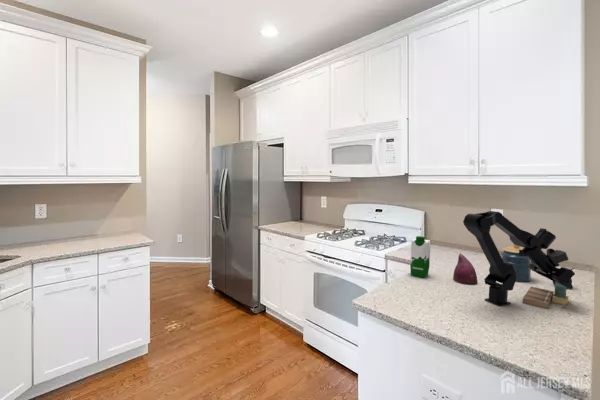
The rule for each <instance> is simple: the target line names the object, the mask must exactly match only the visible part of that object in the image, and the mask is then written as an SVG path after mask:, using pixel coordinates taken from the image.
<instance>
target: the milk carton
mask: <svg viewBox="0 0 600 400" xmlns="http://www.w3.org/2000/svg"><path fill="white" fill-rule="evenodd" d="M425 238H426V237H425V236H420V235H418V236H416V237H415V238H413V239H412V240H411V242H410V243H411V245H410V246H411V247H410V263H409V264H410V266H409V267H410V276H411V277H417V278H422V279H426V278H427V276H428V275H429V270H430V264H431V263H430V262H431V240H430V239H425Z"/></svg>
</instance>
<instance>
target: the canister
mask: <svg viewBox="0 0 600 400" xmlns="http://www.w3.org/2000/svg"><path fill="white" fill-rule="evenodd" d="M523 248H524V247H520V246H516V245H514V244H513V246H508V245H507V246H506V247H503V248H502V250H503V251H502V252H500V255H501V257H502V259H503V261H504V262H505V263H508V264H511V265H512V266H513V268H514V270H515V272H516V273H515V274H516V282H520V283H526V282H530V281H531V273H532V272H531V271H532V270H531V269H530V268H529V265H530V264H531V260H530V259H529V258H528V257H527V256H526V257H523V256H519V250H522V249H523Z"/></svg>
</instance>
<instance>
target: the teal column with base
mask: <svg viewBox="0 0 600 400" xmlns="http://www.w3.org/2000/svg"><path fill="white" fill-rule="evenodd" d="M567 289H568V288H567V287H565V286H563V285H561V284H559V283H557V282H555V285H554V295H553V297H552V301H551V303H555V304H560V305H563V306H568V302H569V295H567Z"/></svg>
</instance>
